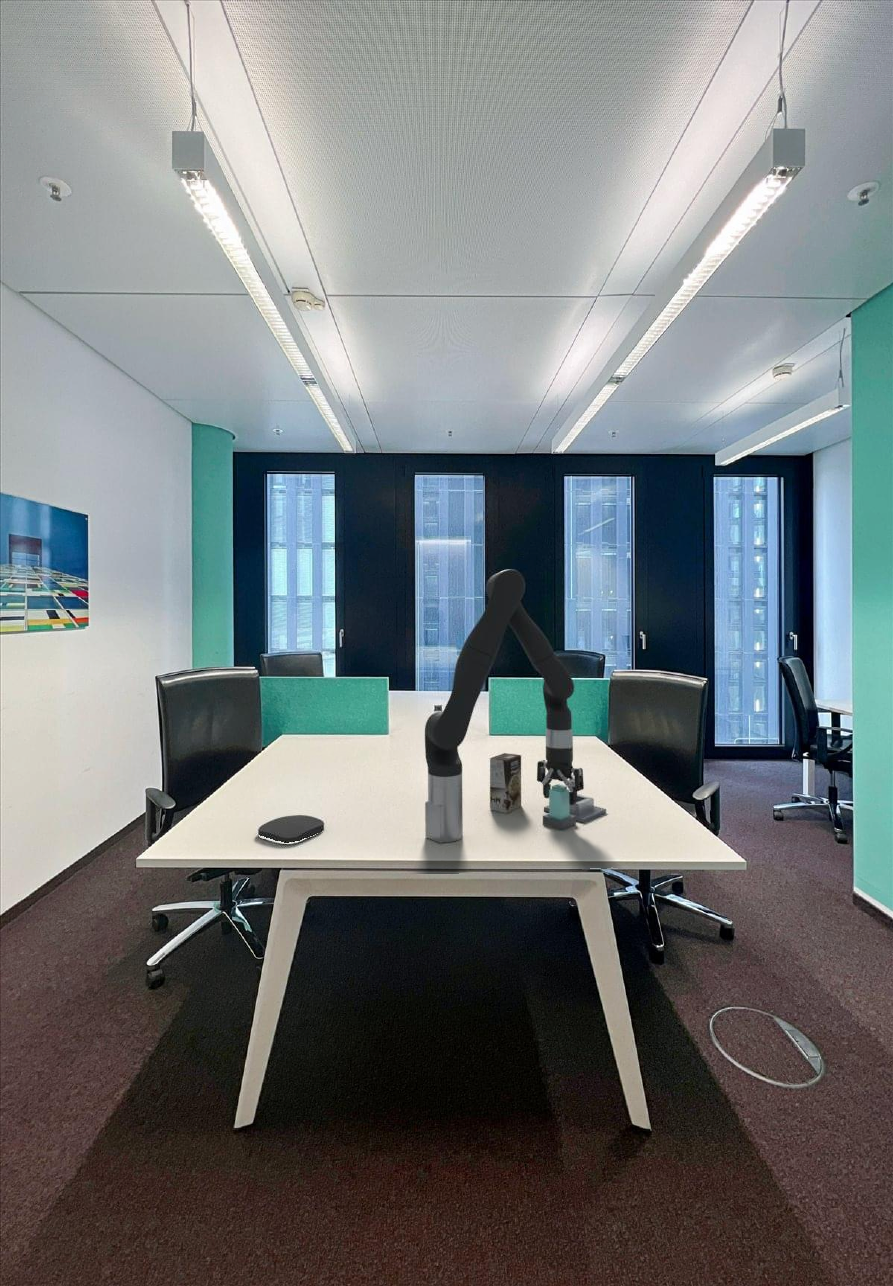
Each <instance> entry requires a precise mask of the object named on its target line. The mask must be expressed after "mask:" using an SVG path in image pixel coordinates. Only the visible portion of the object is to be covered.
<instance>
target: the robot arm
mask: <svg viewBox="0 0 893 1286" xmlns="http://www.w3.org/2000/svg"><path fill="white" fill-rule="evenodd" d="M525 590H526V582H525V578H524V576H523V575H522V574H521V573H520V572H519V571H518V570H516V569H504V570H501V571H500V572H497V573H495V574H493V575H492V576H490V578H489V579H488V580H487V582H486V587H485V591H486V594H487V597H488V601H487V604H486V607H485V609H484V612H483V613H482V616H480V618H479V620H478V621H477V623H476V624H475V626H474V627H473V629H472V630H471V631H470V633H469V635H467V638H466V639H465V641H464V644H463V646H462V648H461V650H460V653H459V655H458V657H457V661H456V664H455V667H454V673H453V674H454V675H453V682H452V690H451V693H450V696H449V697H448V698H449V699H448V701H447V703H446V704H445V707H444V710H441V711H435V712H434V713H431V715H430V716H429V717H427V720H426V723H425V725H424V749H425V761H426V764H427V765H426V766H427V801H425V804H424V814H425V815H424V816H425V818H424V820H425V826H424V827H425V829H424V831H425V838H426V839H429V840H432V841H434V842H436V843H438V844H443V843H451V842H452V843H453V842H456V841H459V840H461V839H462V838H463V836H464V835H463V833H464V832H463V828H464V827H463V825H464V824H463V822H464V821H463V819H464V818H463V817H464V815H463V812H464V811H463V763H462V760H461V757H460V755H459V751H458V750H459V749H458V748H459V746H461V744H463V742H464V740H465V738H466V736H467V733H468V728H469V726H470V721H471V719H472V717H473V716H472V715H473V712H474V710H475V707H476V704H477V701H478V699H479V697H480V694H481V692H482V690H483V687H484V685H485V682H486V680H487V678H488V675H489V674H490V671H491V670H492V667H493V664H494V663H495V660H496V657H497V654H498V651H499V649H500V647H501V643H502V642H503V639H504V636H505V632H506V630H507V627H508V626H509V627H510V628H511V630H512V631H513V633H514V635H515V636H516V638H517V640H518V641H519V643H520V645H521V647H522V649H523V651H524V652H525V654H526V656H527V658H528V659H529V661H530V663H531V665H532V666H533V668H534V670H536V671H537V672H538V673H539V674H540V675H541V677H542V678H543V684H542V693H543V701H544V706H545V712H546V714H545V719H546V720H545V723H546V724H545V725H546V730H545V759H543V760H539V761H537V764H536V767H537V769H536V781H537V782H540V783H541V784H542V795H543V796H544V797H543V798H544V799H549V790H550V789H552V785H551V783H552V782H553V780H554V781H559V782H563V783H564V784H563V785H564V786H567V789H568V790H569V804H570V805H575V804H576V803H577V794H578V792H580V791H582V790H584V787H585V783H584V770H583V768H581V767H579V768H576V767H574V766H573V761H574V746H573V745H574V741H573V740H574V739H573V736H574V735H573V729H572V728H573V726H572V718H573V717H572V711H571V709H570V708H569V706H568V699H570V698H571V697H572V696H573V694H574V692H575V683H574V679H572V677H571V674H570V673H569V672H568V671H567V669H566V667H565V666H564V665H563V663H561V661H560V660H559V658H558V657H557V655H556V653H555V651H554V649H553V647H552V645H551V644H550V642H549V640H548V638H547V637H546V635H545V634H544V632H543V631H542V630H541V628H540V627H538V625H537V624H536V622H534V620H532V618H531V617H530V616H529V614H528V613H527V612H526V609H525V608H524V605H522V604H523V603H522V602H521V600H522V598H523V597H524V594H525V592H526V591H525ZM546 770H547V771H546Z"/></svg>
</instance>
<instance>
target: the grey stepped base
mask: <svg viewBox="0 0 893 1286" xmlns="http://www.w3.org/2000/svg"><path fill="white" fill-rule="evenodd" d="M594 804H595V799H594V797H591V796H587V795H586V796H585V795H582V794H578V793H577V803H576V804H575V805H570V804H569V814H571V815H574V816H576V822H579V823H582V824H585V823H587V822H590V821H591V820H594V819H596V818H598V817H601V816H603V815H605V814H607V809H606V808H604V807H603V808H602V807H600V806H597V805H594ZM543 812H546V813H549V804H548V805H546V806H543Z"/></svg>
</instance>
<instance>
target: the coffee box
mask: <svg viewBox="0 0 893 1286" xmlns="http://www.w3.org/2000/svg"><path fill="white" fill-rule="evenodd" d="M520 807H522V755H521V754H517V753H505V752H504V753H501V754H498V755H495V756H492V757H489V810H491V811H494V812H499V813H504V814H508V813H511V812H512V811H514V810H516V809H518V808H520Z"/></svg>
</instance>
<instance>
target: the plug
mask: <svg viewBox="0 0 893 1286" xmlns="http://www.w3.org/2000/svg"><path fill="white" fill-rule="evenodd" d="M569 792H570V790H569V788H568V787H567V785H565V784H560V783H557V784H554V785H551V789H550V790H549V798H548V799H549V801H548V805H549V812H548V814H549V817H552V818H556V819H559V820H563V819H566V818H568V817H569Z"/></svg>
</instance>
